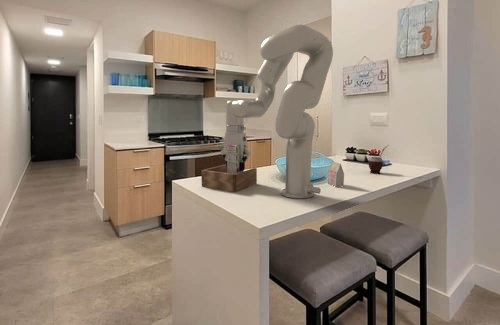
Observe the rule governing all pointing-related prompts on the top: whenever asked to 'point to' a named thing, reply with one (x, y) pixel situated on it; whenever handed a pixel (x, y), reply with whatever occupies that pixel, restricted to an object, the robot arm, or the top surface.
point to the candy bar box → (233, 159)
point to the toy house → (336, 175)
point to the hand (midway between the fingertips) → (235, 169)
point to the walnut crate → (228, 179)
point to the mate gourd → (376, 163)
